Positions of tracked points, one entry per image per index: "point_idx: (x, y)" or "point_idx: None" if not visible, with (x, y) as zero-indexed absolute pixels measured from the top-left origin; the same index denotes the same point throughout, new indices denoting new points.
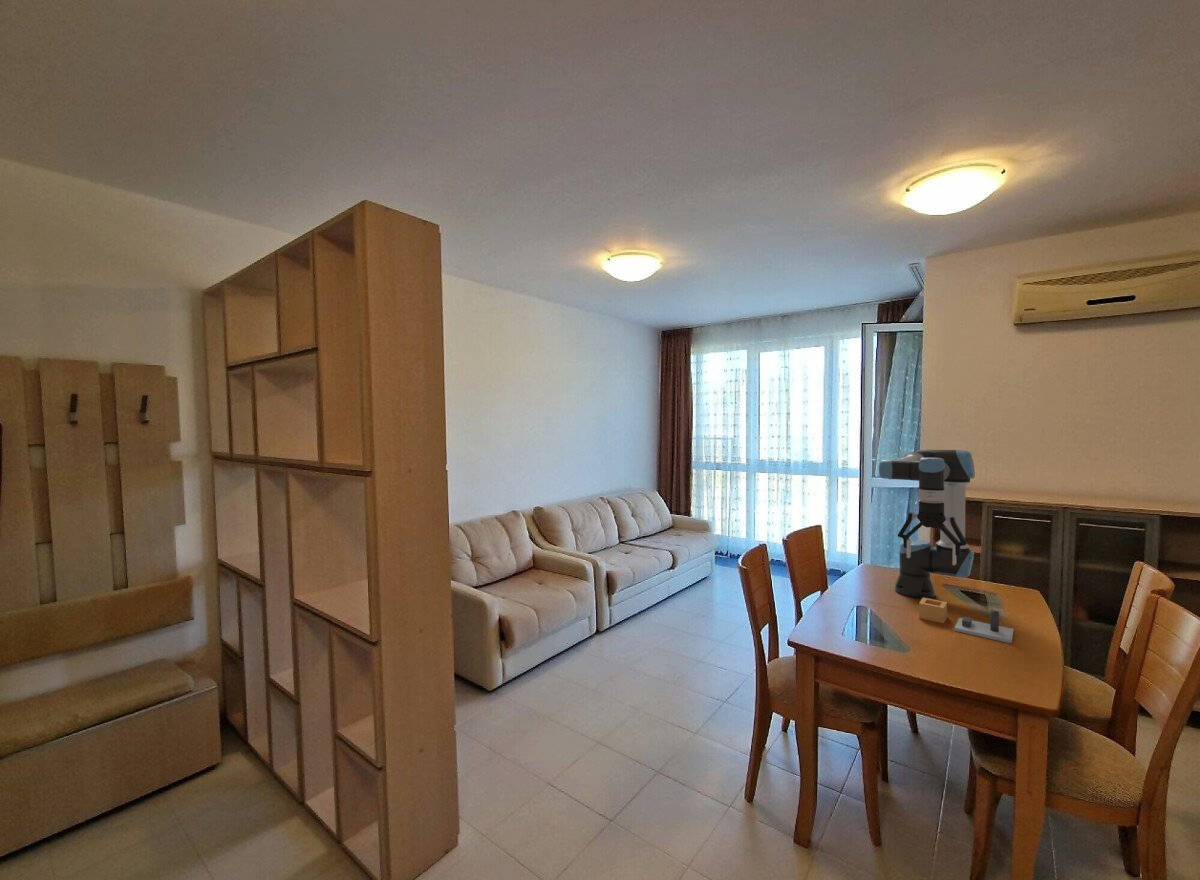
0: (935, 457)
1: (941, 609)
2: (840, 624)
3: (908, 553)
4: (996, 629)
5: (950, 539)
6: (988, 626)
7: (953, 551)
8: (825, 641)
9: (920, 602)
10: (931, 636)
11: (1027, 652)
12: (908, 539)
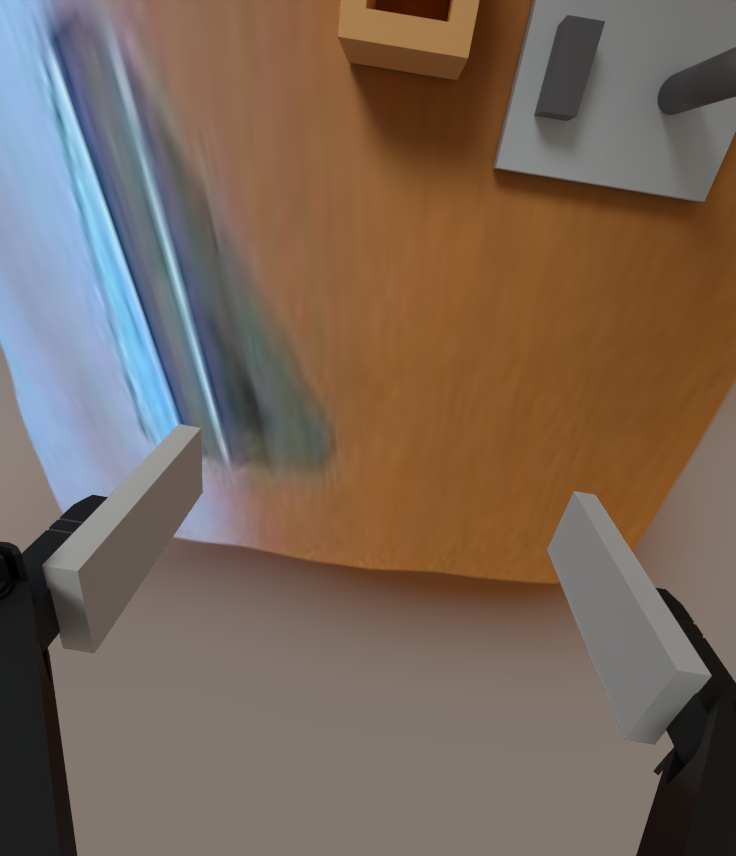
0: None
1: (454, 59)
2: (103, 347)
3: (176, 522)
4: (684, 111)
5: (644, 849)
6: (668, 34)
7: (604, 670)
8: None
9: (344, 14)
10: (398, 291)
11: (718, 266)
12: (64, 609)
